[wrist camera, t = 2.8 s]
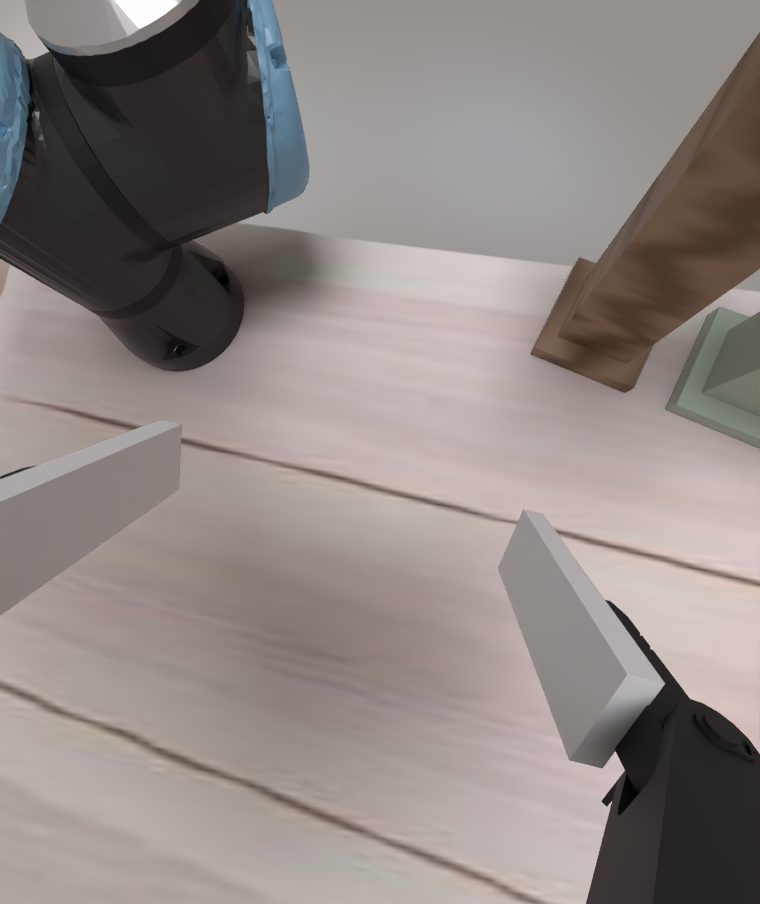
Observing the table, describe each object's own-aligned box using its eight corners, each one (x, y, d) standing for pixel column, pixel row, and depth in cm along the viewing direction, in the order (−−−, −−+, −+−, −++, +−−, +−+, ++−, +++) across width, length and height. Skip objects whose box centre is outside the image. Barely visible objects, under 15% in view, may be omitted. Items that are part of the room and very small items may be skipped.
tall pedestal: (530, 353, 37) (1010, -337, 7) (573, 267, 38) (1160, -675, 8) (624, 392, 35) (1843, -309, 5) (667, 300, 36) (1902, -750, 6)
